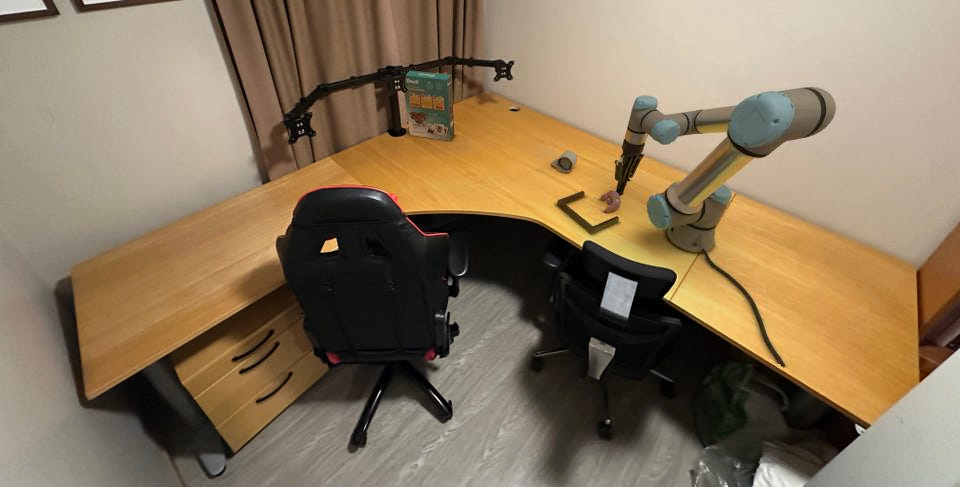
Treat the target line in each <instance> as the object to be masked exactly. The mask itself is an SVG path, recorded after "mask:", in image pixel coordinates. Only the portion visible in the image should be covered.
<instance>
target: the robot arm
mask: <svg viewBox="0 0 960 487" xmlns="http://www.w3.org/2000/svg"><path fill="white" fill-rule="evenodd" d="M658 105H659V101H658V98H656V97H654V96H651V95H647V94H646V95H645V94H644V95H639V96H637V97H636V98H635V99H634V102H633V104H632V107H631V112H630V115H629V120H628V123H627V127H626V131H625V135H624V139H623V141H622V145H621V150H622V154H620V158H618V159H615V160H614V165H615V166H614V167H615V168H614V180H615V181H617V183H616V189H615V191H617V192H618V194H619V196H620V197H622V196H623V195H624V193H625V189H626V187H627V184H628V182H631V179H633V177H634V175H635V173H636V172H637V169H638V167H639V165H640V163H641V161H642V159H643V158H644V157H645V154H644V153H643V152H644V150H645V149H644V148H645V146H646V142H647V139H648V136H649V137H650V138H651V139H653V141H655V142H657V143H659V144H660V145H662V146H667V145H670V144H671V143H673V142H675V141H676V140H677V139H678V138H679V137H683V136H691V135H703V134H719V133H726V137H725V138H724V139H723V140H722V141H720V142H719V143H718V145H717V146H716V147H715V148H713V150H711V152H710V153H709V154H708V155H706V156H705V157H704V159H702V161H700V162H699V163H698V164H697V165H696V166H695V167H694V168H693V169H692V170H691V171H690V172H689V173H688V174H687V175H686V176H685V177H684V178H683V179H682V180H679V181H678V180H677V181H675V182H673V183H671V184H670V185H669V186H668V187H667V188H665V190H664V191H663V192H661V193H655V194H651V195H650V196H649V198H648V199H647V201H646V213H647V217H648V219H649V221H650V222H651V224H652V225H653V227H655V228H656V229H659V230H665V229H668V230H667V237H668V239H669V241H670V242H671V243H672V244H673V245H674V246H676V247H677V248H678V249H682V250H683V251H686V252H690V253H697V254H698V253H703V255H704V257H705V259H706V260H707V262H708V264H710V266H712V268H714V269H715V270H716V271H718V272H719V273H721V274H722V275H724V276H725V277H727V278H728V279H729V280H730V281H731V282H732V283H733V284H734V285H735V286H737V287H738V288H739V290H741V292H743V295H745V296H746V298H747V299H748V302H750V305H751V307H752V309H753V311H754V313H755V316H756V318H757V321H758V324H759V327H760V330H761V333H762V336H763V338H764V341H765V342H766V345H767V346H768V348H769V350H770V352H771V353H772V354H773V356H774V358H775V359H776V360H777V362H778V364H779V365H780V367H782V368H784V367H787V366H786V364H785V361H783V359H782V357H781V356H780V355H779V353H778V352H777V350H776V349H775V347H774V346H773V344H772V342H771V340H770V338H769V336H768V333H767V330H766V327H765V324H764V321H763V318H762V317H761V314H760V312H759V309H758V306H757V304H756V302H755V301H754V298H753V297H752V296H751V295H750V294H749V292H748V291H747V290H746V288H745V287H744V286H743V285H742V284H740V282H738V281H737V279H735V278H734V277H732V275H730V273H728V272H727V271H725V270H724V269H722V268H720V267H719V266H718V265H716V264H715V262H713V260H712V259H711V257H710V255H709V254H708V253H707V252H709V251H710V250H711V249H712V247H713V246H714V243H715V238H716V228H717V226H718V224H719V223H720V220H721V218H722V217H723V215H724V213H725V211H726V209H727V208H728V206H729V204H730V201H731V199H732V191H731V189H730V188H729V186H727V185H726V184H725V183H727V182H728V181H729V180H731V179H732V177H734V176H735V175H736V174H738V173H739V172H740V171H741V170H742V169H743V168H745V167H746V166H747V165H748V164H750V163H751V162H752V161H753V160H754V159H757V160H759V159H763V158H767V156H769V155H770V154H772V153H773V152H774V151H775V150H777V149H778V148H779V147H780V146H782V145H783V144H785V143H786V142H789V141H790V142H791V141H796V140H801V139H807V138H810V137H813V136H816V135H817V134H819V133H821V132H822V131H823V130H825V129H826V128H827V127H828V126H829V125H830V124H831V123H832V121H833V120H834V118H835V116H836V112H837V111H836V110H837V106H836V101H835V98H834V97H833V96H832V94H831V93H830V92H828V90H825V89H823V88H821V87H815V86H803V87H798V88H791V89H784V90H769V91H763V92H760V93H757V94H753V95H750V96H748V97H746V98H744V99H743V100H741V101H740V102H739V103H738V104H734V105H728V106H720V107H711V108H705V109H703V108H701V109H696V110H690V111H689V110H688V111H684V112H683V111H682V112H677V113H667V114H664V113H663V112H661V111H660V110H658V109H657V108H658Z"/></svg>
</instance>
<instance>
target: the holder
mask: <svg viewBox="0 0 960 487" xmlns="http://www.w3.org/2000/svg"><path fill="white" fill-rule="evenodd" d="M585 193H586V191H584V190H581V191H578V192H575V193H572V194H570V195H567V196H565V197H562V198H560V199H558V200H557V202H556V206H557V207H558V208H559V209H561V210H562V211H563V212H564V213H565V214H566V215H568V216H570V218H571V219H573V220H574V221H575V222H576V223H577V224H579V226H581V227H582V228H584V229H585V230H586V231H587V232H588V233H590V234H591V235H593V234H595V233H597V232H599V231H602V230H605V229H607V228H609V227H611V226H614V225H615V224H618V223H619V220H620V217H619V216H618V215H616V216H614V217H611V218H609V219H606V220H604V221H602V222H600V223H597V224H595V225H592V224H591V223H590V222H589V221H587V220H586V219H585V218H584V217H583V216H581V215H580V214H579V213H578V212H576V211H575V210H573V209H572V208H571V207H570V206H569V205H567V204H569V203H572V202H575V201H577V200H580V199H582V198H584V197H585Z"/></svg>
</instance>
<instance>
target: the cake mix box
mask: <svg viewBox="0 0 960 487" xmlns="http://www.w3.org/2000/svg"><path fill="white" fill-rule="evenodd" d="M452 76H453V75H452V74H445V73H435V72H426V71H417V70H409V72H408V73H407V74H406V77H405V86H406V88H407V89H408V91H407V92H406V93H405V92H404V98H405V106H406V107H405V108H406V112H407V121H408V130H409V136H415V137H422V138H427V139H428V138H429V139H435V140H441V141H449V142H451V141H452V140H453V138H454V136H455V119H454V117H455V116H454V99H453V98H454V96H453V78H452Z"/></svg>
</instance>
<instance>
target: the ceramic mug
mask: <svg viewBox="0 0 960 487" xmlns="http://www.w3.org/2000/svg"><path fill="white" fill-rule="evenodd" d="M577 162H578V156H577V153H575V151H573V150H566V151H565V152H563V153H562V154H561V155H560V156H559V157H558V158H556V159H554V160H552V161H551V166H552V167H556V168H557V169H558V171H560V172H561V173H569V172H571V171H572V170H573V168H574V167H575V166H576V163H577Z"/></svg>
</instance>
